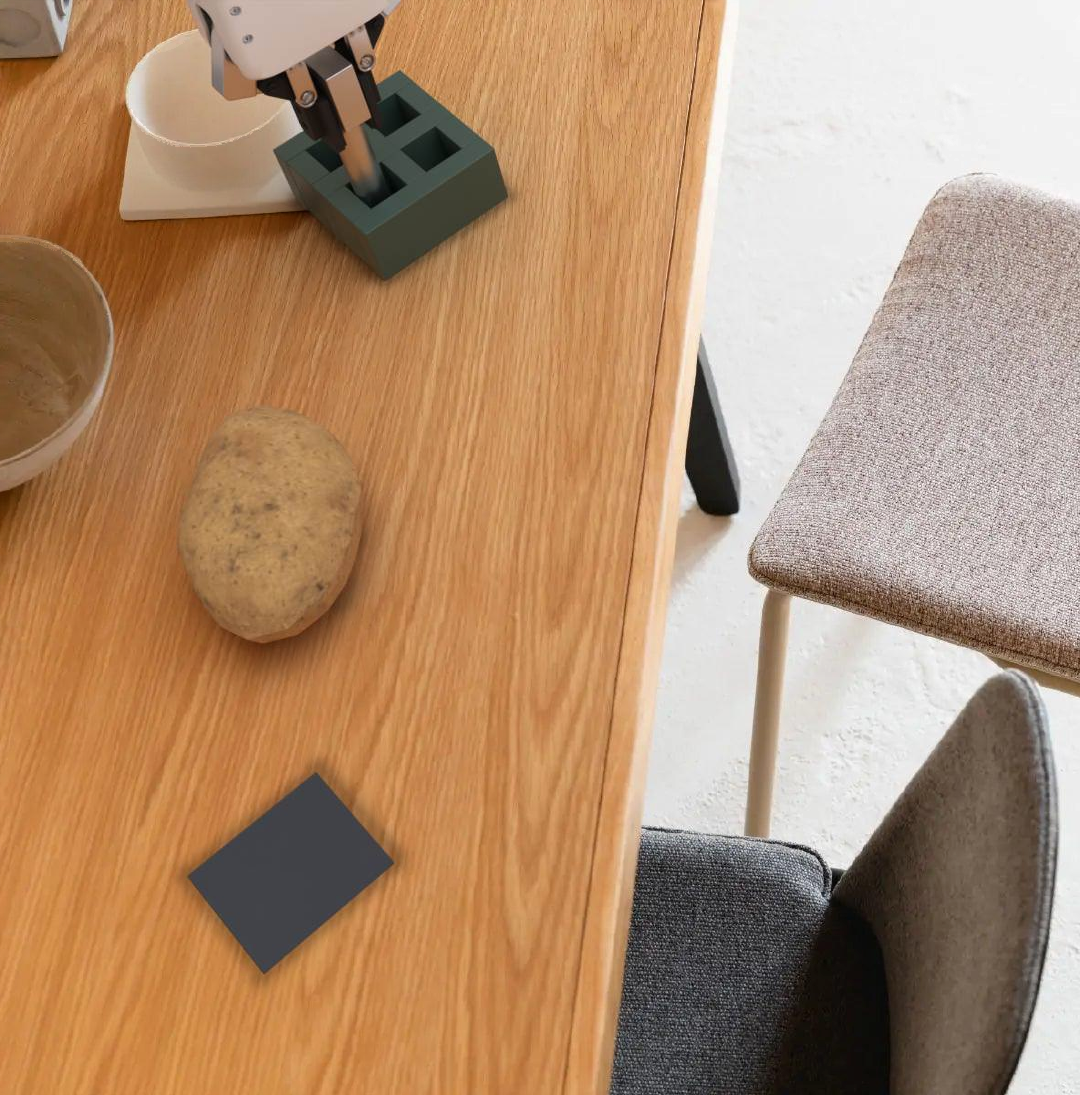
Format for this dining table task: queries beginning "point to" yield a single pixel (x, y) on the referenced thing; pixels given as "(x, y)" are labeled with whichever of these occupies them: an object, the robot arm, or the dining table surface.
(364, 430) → the dining table surface
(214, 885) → the mat
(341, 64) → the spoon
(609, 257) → the dining table surface
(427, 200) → the rack
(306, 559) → the potato
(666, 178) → the dining table surface
